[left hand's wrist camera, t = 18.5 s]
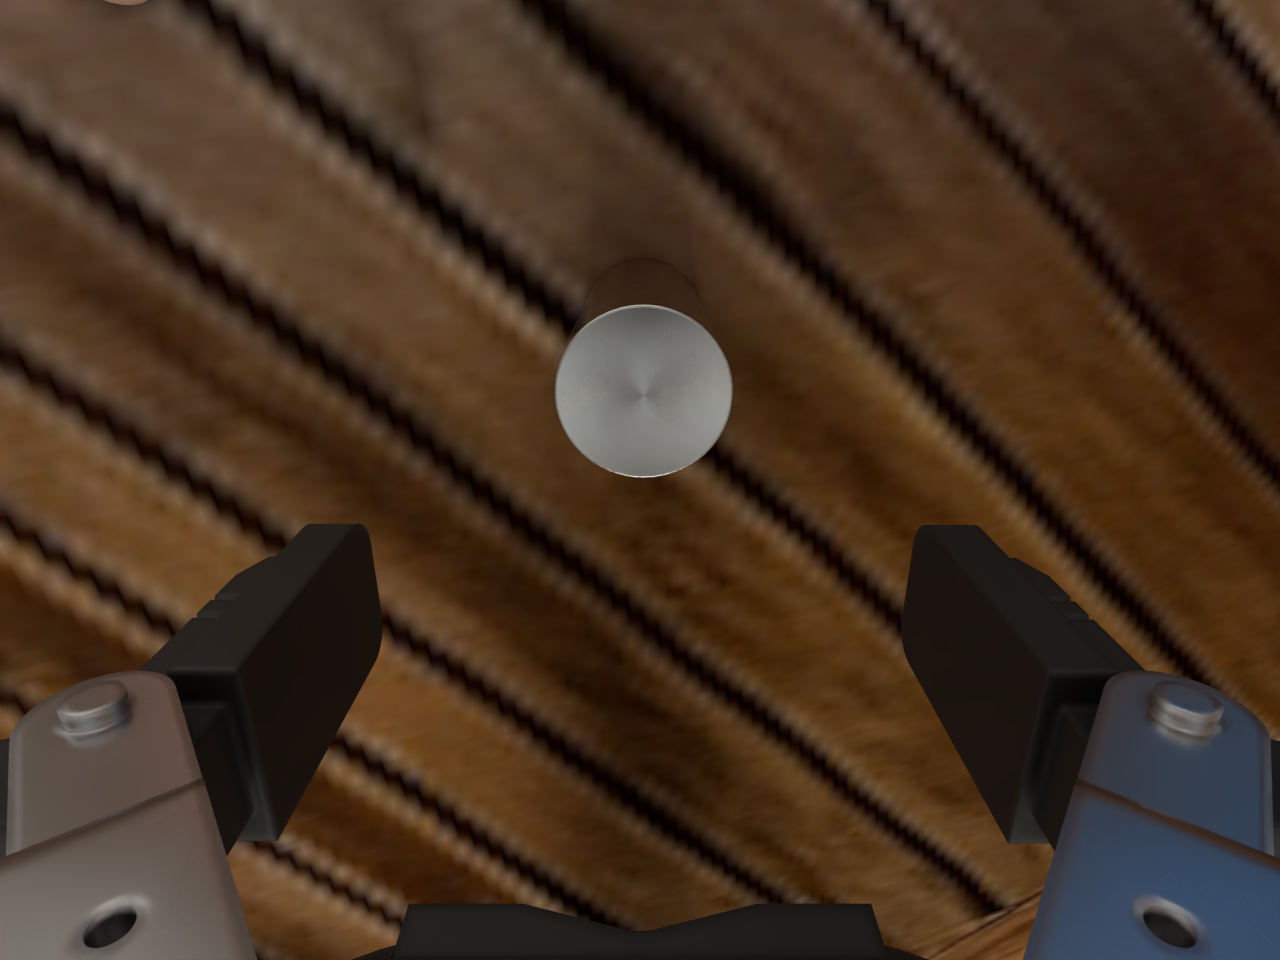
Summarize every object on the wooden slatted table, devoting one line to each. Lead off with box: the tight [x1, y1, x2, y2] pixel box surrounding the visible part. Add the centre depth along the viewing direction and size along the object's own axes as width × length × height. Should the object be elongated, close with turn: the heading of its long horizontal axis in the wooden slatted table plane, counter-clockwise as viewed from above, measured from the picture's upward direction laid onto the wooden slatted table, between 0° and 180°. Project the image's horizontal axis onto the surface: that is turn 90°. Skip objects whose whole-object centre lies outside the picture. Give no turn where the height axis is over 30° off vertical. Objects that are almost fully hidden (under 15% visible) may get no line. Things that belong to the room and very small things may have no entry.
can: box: [554, 258, 733, 478], centre depth 26 cm, size 5×5×12 cm
